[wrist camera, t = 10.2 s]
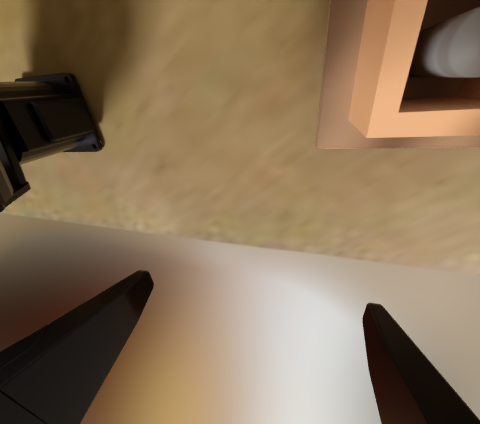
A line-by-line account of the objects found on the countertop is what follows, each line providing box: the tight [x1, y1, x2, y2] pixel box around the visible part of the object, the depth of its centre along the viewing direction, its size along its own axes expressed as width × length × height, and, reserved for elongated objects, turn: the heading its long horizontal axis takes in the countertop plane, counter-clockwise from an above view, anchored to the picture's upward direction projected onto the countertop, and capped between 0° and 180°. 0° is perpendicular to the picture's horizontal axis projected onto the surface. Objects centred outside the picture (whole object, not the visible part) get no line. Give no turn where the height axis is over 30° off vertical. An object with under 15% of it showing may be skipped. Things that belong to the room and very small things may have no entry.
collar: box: [348, 0, 480, 138], centre depth 10 cm, size 6×6×5 cm
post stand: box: [316, 0, 480, 149], centre depth 10 cm, size 10×10×6 cm
